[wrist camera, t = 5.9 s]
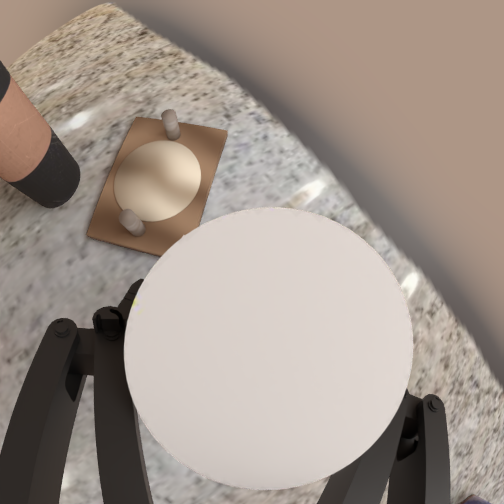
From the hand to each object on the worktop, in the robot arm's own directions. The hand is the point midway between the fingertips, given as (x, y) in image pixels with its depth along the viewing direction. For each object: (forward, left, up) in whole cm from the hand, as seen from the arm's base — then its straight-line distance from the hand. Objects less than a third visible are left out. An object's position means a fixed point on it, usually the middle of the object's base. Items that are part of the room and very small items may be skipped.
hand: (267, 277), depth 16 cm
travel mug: (-27, -7, -15) cm, 32 cm away
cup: (+2, -3, -4) cm, 5 cm away
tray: (-16, +2, -15) cm, 22 cm away
